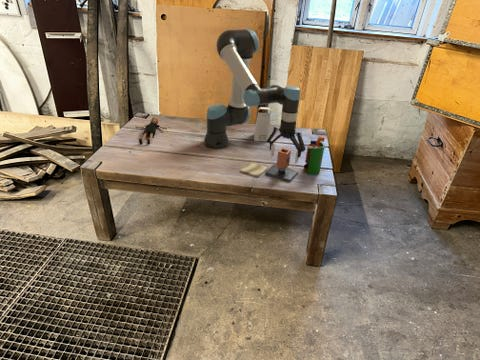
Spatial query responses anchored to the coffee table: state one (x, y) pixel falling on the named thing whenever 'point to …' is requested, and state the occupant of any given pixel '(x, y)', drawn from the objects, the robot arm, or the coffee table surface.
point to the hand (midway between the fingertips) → (283, 159)
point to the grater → (262, 125)
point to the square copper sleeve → (283, 158)
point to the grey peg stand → (281, 173)
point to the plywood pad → (254, 169)
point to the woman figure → (150, 130)
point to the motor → (314, 156)
